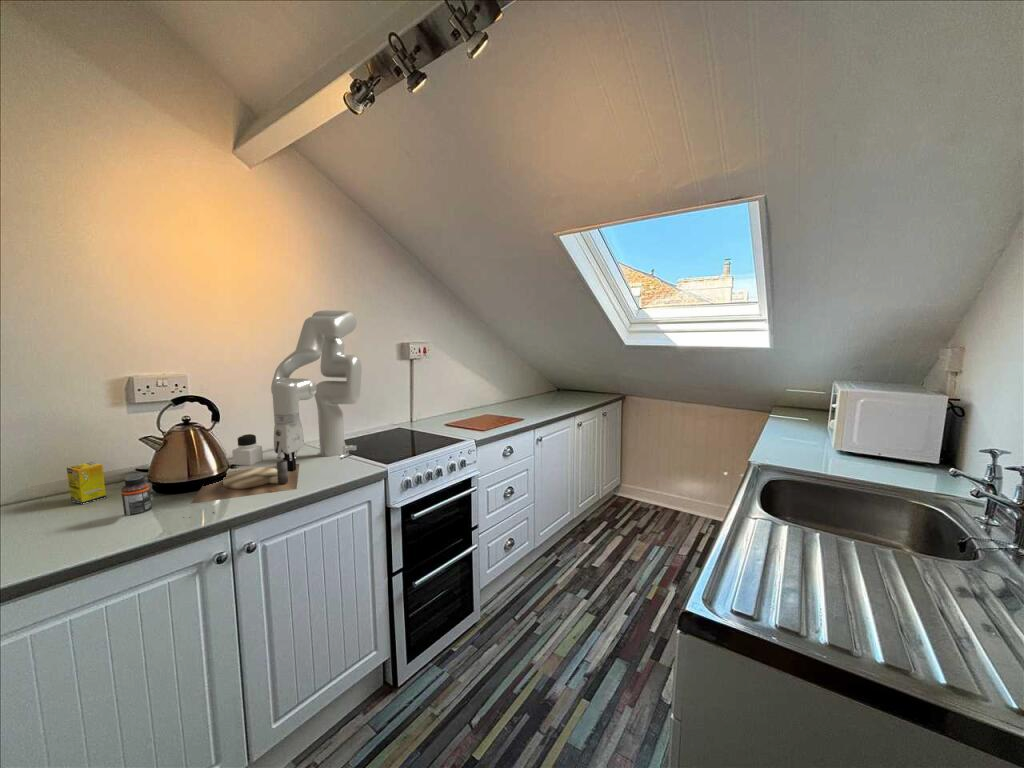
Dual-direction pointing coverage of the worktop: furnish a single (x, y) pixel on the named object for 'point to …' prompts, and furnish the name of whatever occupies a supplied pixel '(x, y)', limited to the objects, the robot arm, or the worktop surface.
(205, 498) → the walnut board
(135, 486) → the supplement bottle
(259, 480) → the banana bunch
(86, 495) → the supplement box
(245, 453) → the medicine bottle
